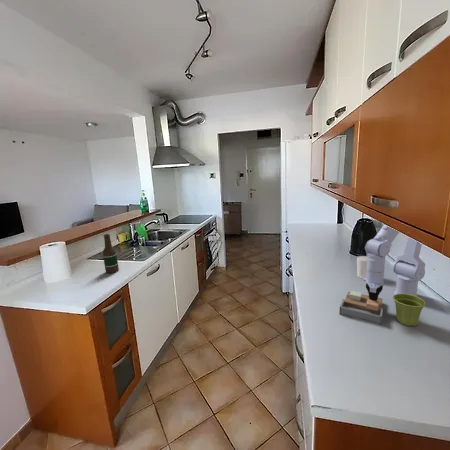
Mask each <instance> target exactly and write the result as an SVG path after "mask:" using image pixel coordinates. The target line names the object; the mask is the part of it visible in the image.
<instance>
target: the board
mask: <svg viewBox="0 0 450 450" xmlns="http://www.w3.org/2000/svg"><path fill="white" fill-rule="evenodd" d="M350 293H351V291H348V292H347V294H346V297H345V299H344V300H345V301H344V305H345V306H350V307H354V308H358V309H362V310H367V311H371V312H375V313H379V314H380V313H381V308H383V300H384V299H383V298H382V297H378V299H377V301H379V308H378V311H376V310H372V309H367V308H366V303H367V299H369V295H367V294H362V297H361V301H357V300H353V299H350Z"/></svg>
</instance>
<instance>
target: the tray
mask: <svg viewBox="0 0 450 450" xmlns="http://www.w3.org/2000/svg"><path fill="white" fill-rule="evenodd" d="M344 301H345V299H342V301H341V303H340V306H339V311H338V312H339V315H341V316H342V315H343V316H346V317H349V318H353V319H357V320H361V321H366V322H370V323H374V324H377V325H382V322H383V321H382V320H383V312H384V311H383V310H384V308H383V307H382V308H381V313H380V314H379V313H375V312H371V311H367V310H362V309H358V308H354V307H350V306H345V305H344Z"/></svg>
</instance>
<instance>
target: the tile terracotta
mask: <svg viewBox="0 0 450 450" xmlns="http://www.w3.org/2000/svg"><path fill="white" fill-rule="evenodd" d="M366 308H367V309H372V310H376V311H378V308H379V301H374V300H370V299H367V303H366Z"/></svg>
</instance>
